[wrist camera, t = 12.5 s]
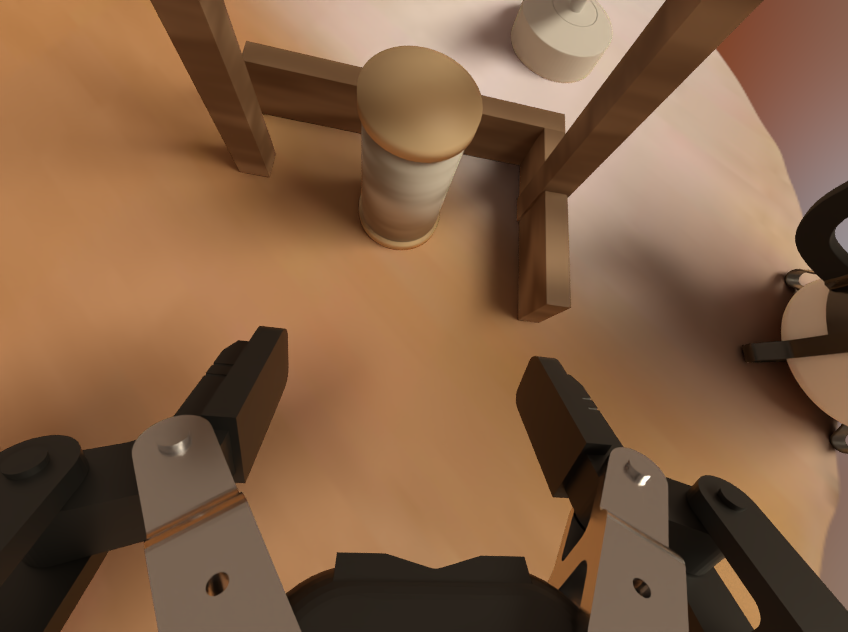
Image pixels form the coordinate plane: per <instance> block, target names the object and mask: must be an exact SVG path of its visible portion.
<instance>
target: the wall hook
mask: <svg viewBox="0 0 848 632" xmlns="http://www.w3.org/2000/svg"><path fill="white" fill-rule="evenodd" d="M612 35H613V31H612V25H611V22H610V19H609V17H608V15H607V13H606V12H605V10H604V9H603V7H602V6H601V5H600V4H599V3H598V2H597V1H596V0H523V2H522V4H521V7H520V9H519V12H518V14H517V17H516V19H515V22H514V24H513V27H512V30H511V42H512V46H513V49H514V51H515V53H516V54H517V56H518V58H519V59H520V60H521V61H522V63H523V64H524V65H525V66H526V67H528V68H529V69H530V70H531V71H533V72H534V73H536V74H537V75H539V76H541V77H543V78H545V79H548V80H550V81H554V82H559V83H573V82H578V81H580V80H582V79H584V78H586V77H587V76H588V75H589V74H590V73H591V71H592V70H593V68H594V67H595V65H596V64H597V62H598V61H599V59H600V58H601V57H602V55H603V54H604V52H605V51H606V49H607V48H608V46H609V45H610V43H611V40H612Z"/></svg>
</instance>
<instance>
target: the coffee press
mask: <svg viewBox="0 0 848 632" xmlns="http://www.w3.org/2000/svg"><path fill="white" fill-rule="evenodd" d="M846 218H848V181H847V182H845V183H843V184H842V185H840V186H838V187H836V188H835V189H833V190H832V191H830V192H828V193H827V194H826V195H825V196H823V197H822V198H820V199H819V200H818V201H817V202H816V203H815V204H814V205H813V206H812V207H811V208H810V209H809V211H808V212H807V213H806V214H805V216H804V217H803V219H802V220H801V222H800V224H799V226H798V228H797V230H796V235H795V242H796V246H797V249H798V251H799V253H800V255H801V257H802V258H803V259H804V261H805V262H806V263H807V265H808V266H809V267H810V268H811V269H812V270H803V269H794V270H791V271H790V272H788V273H787V275H786V276H785V282H786V284H787V285H788V286H790V287H793V288H795V289H797V290H798V291H797V292H796V293H795V294H794V296H793V297H792V298H791V300H790V301H789V303H788V305H787V307H786V309H785V311H784V314H783V318H782V324H781V338H782V341H777V342H766V343H754V344H746V345H742V348H743V353H744V357H745V361H746V362H747V363H756V362H788V365H789V367H790V369H791V372H792V373H793V375H794V377H795V379H796V381H797V382H798V384H799V385H800V387H801V388H802V389H803V391H804V392H805V393H806V395H807V396H808V397H809V398H810V399H811V400H812V401H813V402H814V403H815V404H816V405H817V406H818V407H819V408H820V409H821V410H823V411H824V412H825V413H826V414H828V415H829V416H831V417H832V418H834V419H835V420H837V421H839V422H840V423H842V424H841V426H840V427H839V428H838V429H837V430H836V431H835V432H834V433H833V434H832V435H831V437H830V443H831V445H832V446H833V447H834V448H835V449H836V450H838V451H839V452H842V453H847V454H848V446H847V444H846V442H845V438H846V436H847V435H848V253H847V252H846V251H845V250H844V249H843V248H842V246H841V245H840V244H839V243H838V241H837V239H836V237H835V229H836V227H837V226H838V225H839V224H840V223H841V222H842V221H843V220H844V219H846ZM805 272H807V273H811V274H817V275H818V276H819V277H820V278H821V279H819V280H816V281H813V282H811V283H809V284H807V285H805V286H802V285H801V284H800V283H799V277H800V276H801V275H802V274H803V273H805Z"/></svg>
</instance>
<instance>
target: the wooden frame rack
mask: <svg viewBox="0 0 848 632" xmlns="http://www.w3.org/2000/svg"><path fill="white" fill-rule="evenodd" d="M150 1H151V2H152V4H153V6H154V8H155V10H156V12H157V14H158V16H159V18H160V20H161V22H162V24H163V26H164V27H165V29H166V31H167V33H168V35H169V37H170V39H171V41H172V43H173V45H174V47H175V49H176V50H177V52H178V54H179V56H180V58H181V60H182V62H183V64H184V66H185V68H186V70H187V72H188V73H189V75H190V77H191V79H192V81H193V83H194V85H195V87H196V89H197V91H198V93H199V95H200V96H201V98H202V100H203V102H204V104H205V106H206V108H207V110H208V112H209V114H210V116H211V118H212V119H213V121H214V123H215V125H216V127H217V129H218V131H219V133H220V135H221V137H222V139H223V141H224V142H225V144H226V146H227V148H228V150H229V152H230V154H231V156H232V158H233V160H234V162H235V164H236V165H237V167H238V169H239V171H240V172H244V173H249V174H255V175H261V176H266V177H270V175H271V171H272V167H273V163H274V159H275V154H276V153H275V150H274V147H273V144H272V141H271V138H270V135H269V132H268V129H267V126H266V124H265V121H264V118H263V115H262V113H264V114H269V115H274V116H279V117H284V118H289V119H294V120H299V121H303V122H308V123H313V124H318V125H323V126H328V127H333V128H338V129H343V130H348V131H353V132H358V133H362V124H361V121H360V118H359V115H358V109H357V81H358V77H359V74H360V72H361V70H362V67H357V66H353V65H349V64H344V63H340V62H336V61H331V60H327V59H323V58H318V57H314V56H310V55H305V54H301V53H297V52H292V51H288V50H284V49H279V48H275V47H271V46H266V45H262V44H258V43H253V42H249V41H246V43H245V46H244V50H243V53H241V50H240V47H239V44H238V41H237V39H236V36H235V33H234V30H233V27H232V24H231V21H230V18H229V15H228V12H227V9H226V6H225V3H224V0H150ZM762 1H763V0H666V1H665V2H664V4H663V5H662V6H661V8H660V9H659V10H658V12H657V13H656V14H655V16H654V17H653V18H652V20H651V21H650V22H649V24H648V25H647V26H646V28H645V29H644V30H643V32H642V33H641V34H640V36H639V37H638V38H637V40H636V41H635V42H634V44H633V45H632V46H631V48H630V49H629V50H628V52H627V53H626V54H625V55H624V57H623V58H622V59H621V61H620V62H619V63H618V65H617V66H616V67H615V69H614V70H613V71H612V73H611V74H610V75H609V77H608V78H607V79H606V81H605V82H604V83H603V85H602V86H601V87H600V89H599V90H598V91H597V93H596V94H595V95H594V97H593V98H592V99H591V101H590V102H589V103H588V105H587V106H586V107H585V109H584V110H583V111H582V113H581V114H580V115H579V117H578V118H577V119H576V121H575V122H574V123H573V125H572V126H571V127H570V129H569V130H568V131H567V133H566V134H565V114H561V113H556V112H552V111H548V110H543V109H539V108H535V107H530V106H526V105H522V104H517V103H513V102H509V101H504V100H500V99H496V98H491V97H487V96H483V95H481V98H482V104H483V111H482V117H481V121H480V123H479V126H478V128H477V130H476V133H475V135H474V138H473V140H472V141H471V143H470V144H469V145H468V147H467V148H466V149H465V150H464V152H463V154H466V155H471V156H476V157H481V158H486V159H491V160H495V161H500V162H505V163H510V164H515V165H520V182H519V197H518V198H517V221H519V276H518V320H522V321H530V322H538V323H539V322H541V321H543V320H546V319H548V318H550V317H552V316H554V315H556V314H558V313H560V312H563V311H565V310H567V309H569V308H571V293H570V263H569V232H568V202H567V198H568V197H569V196H570V195H571V194H572V193H573V192H574V191H575V190H576V189H577V188H578V187H579V186H580V185H581V184H582V183H583V182H584V181H585V180H586V179H587V178H588V177H589V176H590V175H591V174H592V173H593V172H594V171H595V170H596V169H597V168H598V167H599V166H600V165H601V164H602V163H603V162H604V161H605V160H606V159H607V158H608V157H609V156H610V155H611V154H612V153H613V152H614V151H615V150H616V149H617V148H618V147H619V146H620V145H621V144H622V143H623V142H624V141H625V140H626V138H627V137H628V136H629V135H630V134H631V133H632V132H633V131H634V130H635V129H636V128H637V127H638V126H639V125H640V124H641V123H642V122H643V121H644V120H645V119H646V118H647V117H648V116H649V115H650V114H651V113H652V112H653V111H654V110H655V109H656V108H657V107H658V106H659V105H660V104H661V103H662V102H663V101H664V100H665V99H666V98H667V97H668V96H669V95H670V94H671V93H672V92H673V91H674V90H675V89H676V88H677V87H678V86H679V85H680V84H681V83H682V82H683V81H684V80H685V79H686V78H687V77H688V76H689V75H690V74H691V73H692V72H693V71H694V70H695V69H696V68H697V67H698V66H699V65H700V64H701V63H702V62H703V61H704V60H705V59H706V58H707V57H708V56H709V55H710V54H711V53H712V52H713V51H714V50H715V49H716V48H717V46H719V45H720V44H721V43H722V42H723V41H724V39H725V38H727V36H728V35H730V34H731V33H732V32H733V31H734V30H735V29H736V28H737V27H738V25H740V23H741V22H742V21H743V20H744V19H745V18H746V17H747V16H748V15H749V14H750V13H751V12H752V11H753V10H754V9H755V8H756V7H757V6H758V5H759V4H760V3H761V2H762Z"/></svg>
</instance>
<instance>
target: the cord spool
mask: <svg viewBox="0 0 848 632" xmlns="http://www.w3.org/2000/svg"><path fill="white" fill-rule="evenodd" d="M357 109H358V115H359V118H360V121H361V124H362V192H361V195H360V199H359V218H360V222H361V224H362V227H363V228H364V230H365V232H366V233H367V234H368V235H369V236H370V237H371V238H372V239H373V240H374V241H375V242H377V243H378V244H380V245H382V246H384V247H387V248H390V249H395V250H408V249H413V248H416V247H418V246H420V245H422V244H424V243H425V242H426V241H427V240H429V238H430V237H431V236H432V235H433V233H434V231H435V229H436V226H437V224H438V221H439V218H440V209H441V207H442V204H443V202H444V199H445V197H446V194H447V192H448V189H449V187H450V184H451V182H452V179H453V177H454V174H455V172H456V169H457V167H458V164H459V162H460V159H461V157H462V154H463V152H464V150H465V149H466V148H467V147H468V145H469V144H470V143H471V141H472V140H473V138H474V135H475V133H476V130H477V128H478V126H479V123H480V121H481V117H482V111H483V104H482V98H481V94H480V91H479V88H478V86H477V85H476V83H475V81H474V80H473V78H472V77H471V75H470V74H469V73H468V72H467V71H466V70H465V69H464V68H463V67H462V66H461V65H460V64H459V63H457V62H456V61H455V60H453V59H451V58H450V57H448V56H446V55H444V54H442V53H440V52H438V51H435V50H432V49H428V48H424V47H418V46H399V47H393V48H389V49H386V50H384V51H382V52H379V53H378V54H376V55H374V56H373V57H372V58H371V59H370V60H368V62H367V63H366V64H365V65H364V67H363V68H362V70H361V72H360V74H359V77H358V81H357Z"/></svg>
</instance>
